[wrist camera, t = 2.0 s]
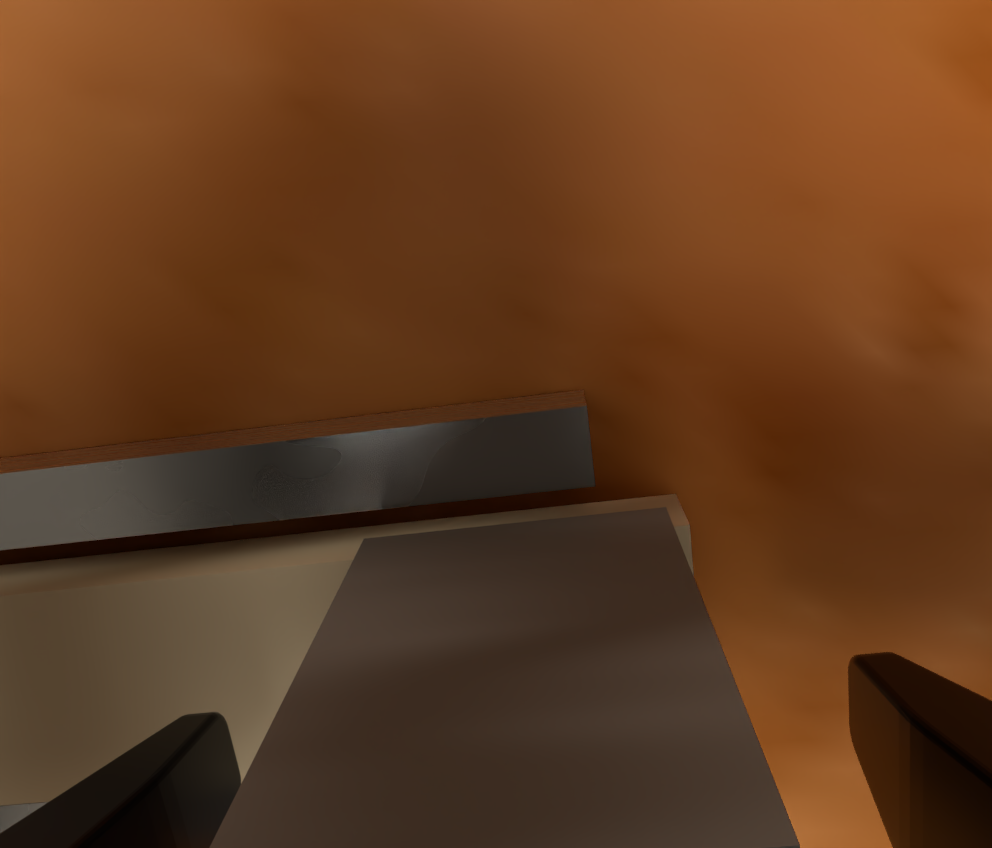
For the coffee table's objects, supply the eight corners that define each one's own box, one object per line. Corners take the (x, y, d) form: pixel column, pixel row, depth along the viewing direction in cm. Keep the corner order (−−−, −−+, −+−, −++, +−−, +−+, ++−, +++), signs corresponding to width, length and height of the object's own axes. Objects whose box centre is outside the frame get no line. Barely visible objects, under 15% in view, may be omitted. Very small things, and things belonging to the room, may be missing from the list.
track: (583, 389, 10) (587, 405, 10) (625, 778, 12) (631, 818, 11) (-354, 499, 11) (-418, 522, 11) (-204, 842, 13) (-250, 883, 12)
